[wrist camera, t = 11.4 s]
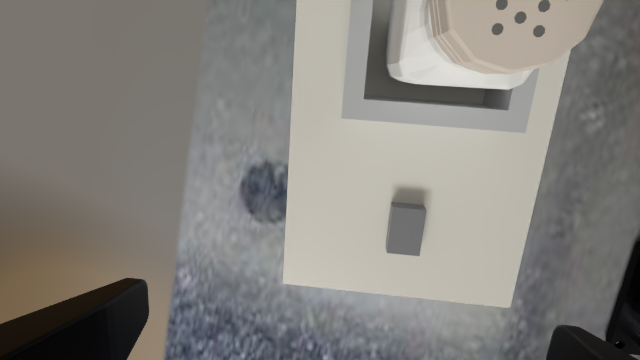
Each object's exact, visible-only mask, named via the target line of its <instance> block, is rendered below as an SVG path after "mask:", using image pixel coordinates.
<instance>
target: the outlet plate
mask: <svg viewBox="0 0 640 360" xmlns="http://www.w3.org/2000/svg"><path fill="white" fill-rule="evenodd" d="M390 5H391V0H297V6H296V27H295V47H294V68H293V88H292V108H291V129H290V149H289V169H288V190H287V210H286V230H285V251H284V271H283V284H291V285H300V286H310V287H319V288H328V289H338V290H347V291H356V292H366V293H375V294H384V295H394V296H403V297H412V298H422V299H431V300H440V301H450V302H459V303H468V304H478V305H487V306H496V307H506V308H510V306H511V302H512V297H513V293H514V289H515V285H516V280H517V276H518V272H519V268H520V263H521V259H522V255H523V251H524V246H525V242H526V238H527V234H528V229H529V225H530V221H531V217H532V212H533V208H534V204H535V200H536V195H537V191H538V187H539V183H540V178H541V174H542V170H543V166H544V161H545V157H546V153H547V149H548V144H549V140H550V136H551V132H552V127H553V123H554V119H555V115H556V110H557V106H558V102H559V98H560V93H561V89H562V85H563V81H564V76H565V72H566V68H567V64H568V59H569V55H570V51H571V49H570V50H569V51H568V52H566V53H565V54H564V55H563V56H561V57H560V58H559V59H557V60H556V61H555V62H554V63H552V64H551V65H550V66H546V67H541V68H537V69H534V70H533V71H532V72H531V74H530V75H529V76H528V78H527V79H526V80H525V81H524V83H523V84H522V85H519V86H516V87H514V88H511V89H509V90H506V89H487V88H470V87H453V86H437V85H422V84H412V83H407V82H402V81H397V80H395V79H393V78H391V77H389V76H387V72H386V69H385V56H386V46H387V35H388V25H389V15H390Z"/></svg>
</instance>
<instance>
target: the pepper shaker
mask: <svg viewBox="0 0 640 360" xmlns="http://www.w3.org/2000/svg"><path fill="white" fill-rule="evenodd" d="M602 2H603V0H391V5H390V15H389V25H388V35H387V46H386V56H385V69H386V72H387V76H389V77H391V78H393V79H395V80H397V81H402V82H407V83H412V84H422V85H437V86H453V87H470V88H487V89H506V90H509V89H511V88H514V87H516V86H519V85H522V84H523V83H524V81H525V80H526V79H527V78H528V76H529V75H530V74H531V72H532V71H533V70H534V69H537V68H541V67H546V66H550V65H551V64H552V63H554V62H555V61H556V60H557V59H559V58H560V57H561V56H563V55H564V54H565V53H566V52H568V51H569V50H570V49H571V48H573V47H574V46H575V45H577V44H578V43H579V42H580V41H582V40H583V39H584V38H585V37H586V35H587V33H588V31H589V29H590V27H591V25H592V23H593V21H594V19H595V17H596V15H597V13H598V11H599V9H600V6H601V4H602Z"/></svg>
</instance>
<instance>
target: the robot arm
mask: <svg viewBox="0 0 640 360" xmlns="http://www.w3.org/2000/svg"><path fill="white" fill-rule="evenodd" d="M148 316H149V303H148V287H147V283H146V281H145V280H142V279H135V278H125V279H122V280H120V281H117V282H114V283H112V284H109V285H106V286H103V287H100V288H98V289H95V290H92V291H89V292H87V293H84V294H82V295H78V296H76V297H73V298H70V299H68V300H65V301H62V302H59V303H57V304H54V305H51V306H49V307H46V308H43V309H40V310H38V311H35V312H32V313H29V314H27V315H24V316H21V317H18V318H16V319H13V320H10V321H7V322H4V323H2V324H0V360H127V358H128V356H129V354H130V352H131V350H132V349H133V347H134V345H135V343H136V341H137V339H138V337H139V335H140V334H141V331H142V330H143V328H144V326H145V324H146V322H147V319H148ZM618 341H619V343H617V344H616V342H618ZM629 354H634V355H640V241H639V242H638V243H637V245H636V246H635V249H634V252H633V255H632V259H631V262H630V265H629V268H628V271H627V274H626V277H625V280H624V283H623V287H622V290H621V293H620V296H619V299H618V302H617V305H616V308H615V311H614V315H613V318H612V321H611V324H610V327H609V330H608V333H607V336H606V341H604V340H602V339H600V338H598V337H596V336H594V335H593V334H591V333H589V332H587V331H585V330H584V329H582V328H580V327H577V326H569V325H558V326H556V327H555V329H554V331H553V334H552V338H551V341H550V345H549V348H548V352H547V356H546V360H638V359H636V358H634V357H632V356H631V355H629Z"/></svg>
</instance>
